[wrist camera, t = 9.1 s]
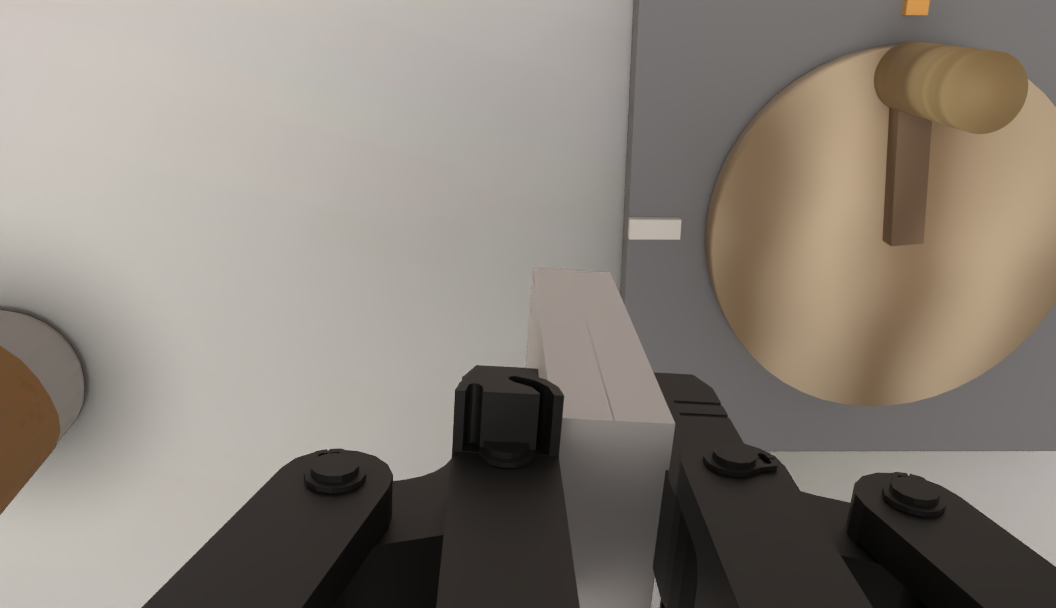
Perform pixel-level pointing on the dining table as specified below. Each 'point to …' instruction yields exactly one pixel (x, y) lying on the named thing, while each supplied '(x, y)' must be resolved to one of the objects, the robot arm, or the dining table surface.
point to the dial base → (690, 175)
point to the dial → (889, 223)
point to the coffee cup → (33, 397)
